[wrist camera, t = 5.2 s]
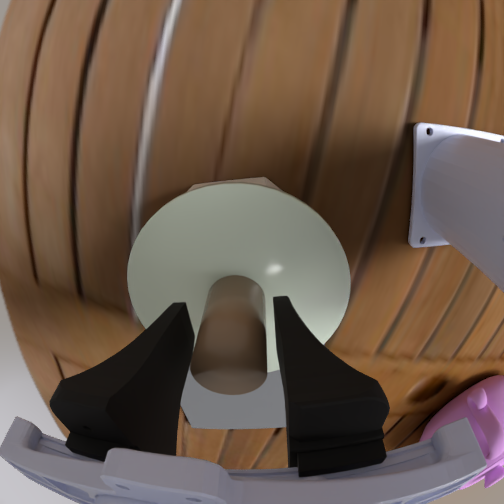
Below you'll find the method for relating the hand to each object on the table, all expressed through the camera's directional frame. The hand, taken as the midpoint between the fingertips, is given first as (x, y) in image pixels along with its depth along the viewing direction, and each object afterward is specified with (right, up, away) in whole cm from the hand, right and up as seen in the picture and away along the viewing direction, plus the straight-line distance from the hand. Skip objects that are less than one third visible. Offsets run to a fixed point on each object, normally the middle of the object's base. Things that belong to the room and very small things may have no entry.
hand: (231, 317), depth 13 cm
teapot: (+32, -17, +14) cm, 40 cm away
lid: (0, +1, +3) cm, 3 cm away
